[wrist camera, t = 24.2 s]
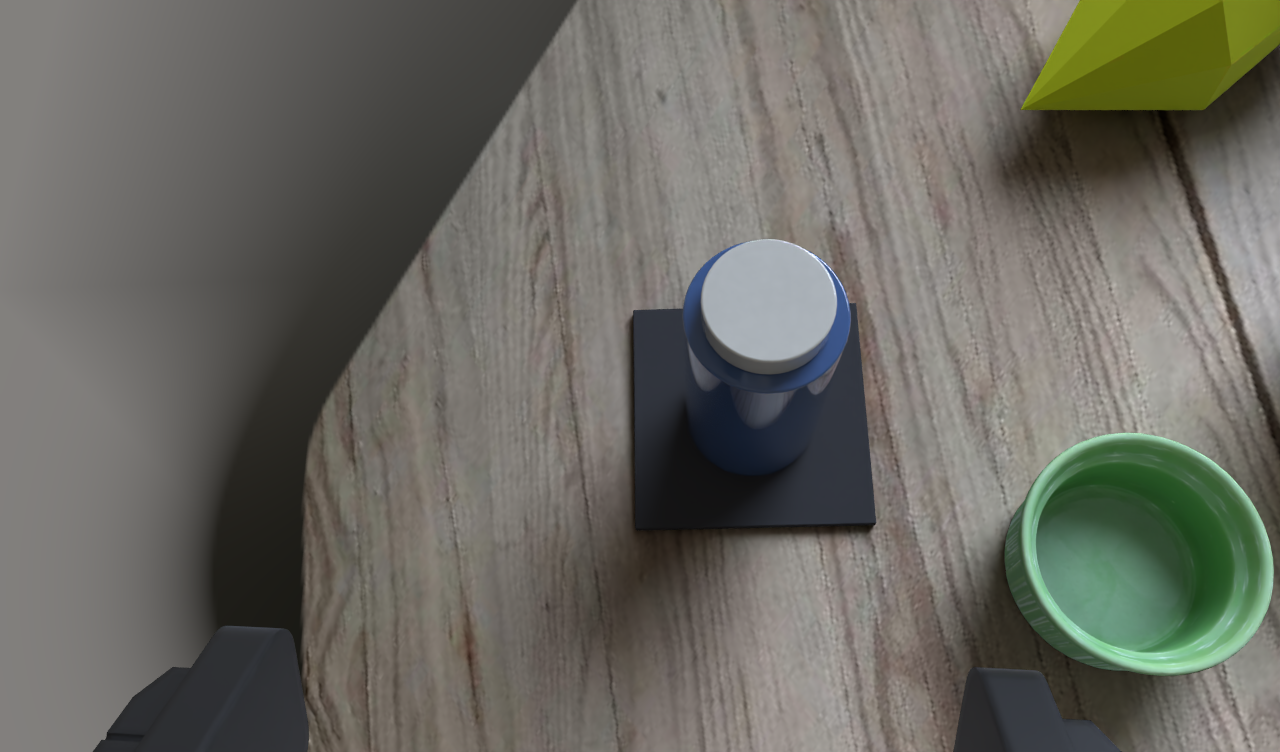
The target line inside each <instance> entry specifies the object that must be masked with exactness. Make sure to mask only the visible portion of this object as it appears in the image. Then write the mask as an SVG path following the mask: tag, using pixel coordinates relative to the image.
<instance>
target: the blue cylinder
mask: <svg viewBox="0 0 1280 752" xmlns="http://www.w3.org/2000/svg"><path fill="white" fill-rule="evenodd" d="M850 325H851V311H850V305H849V301H848V297H847V294H846V291H845V289H844V287H843V285H842V283H841V281H840V280H839V278H838V277H837V275H836V274H835V273H834V272H833V270H832V269H831V268H830V267H829V266H828V265H827V264H826V263H825V262H824V261H823V260H821V259H820V258H819V257H817V256H816V255H814V254H813V253H811V252H809V251H808V250H806V249H804V248H802V247H800V246H798V245H795V244H792V243H789V242H786V241H781V240H774V239H762V240H754V241H749V242H745V243H740V244H737V245H735V246H732V247H730V248H727V249H725V250H723V251H721V252H720V253H718V254H717V255H715V256H714V257H712V258H711V259H710V260H709V261H708V262H706V263H705V264H704V265H703V267H702V268H701V269H700V270H699V271H698V272H697V274H696V275H695V277H694V278H693V280H692V282H691V284H690V286H689V288H688V290H687V293H686V296H685V300H684V305H683V340H684V367H685V395H686V417H687V425H688V429H689V432H690V435H691V437H692V439H693V441H694V443H695V445H696V446H697V448H698V449H699V450H700V452H701V453H702V454H703V455H704V456H705V457H706V458H707V459H708V460H709V461H711V462H712V463H713V464H715V465H716V466H718V467H720V468H722V469H724V470H726V471H728V472H731V473H735V474H739V475H745V476H759V475H766V474H771V473H774V472H777V471H779V470H781V469H783V468H785V467H787V466H789V465H790V464H791V463H793V462H794V461H795V460H796V459H797V458H799V457H800V456H801V454H802V453H803V452H804V451H805V450H806V448H807V446H808V445H809V443H810V441H811V439H812V436H813V434H814V431H815V428H816V426H817V423H818V420H819V417H820V415H821V412H822V409H823V406H824V404H825V401H826V398H827V395H828V393H829V390H830V387H831V384H832V382H833V379H834V376H835V373H836V371H837V368H838V365H839V362H840V360H841V357H842V354H843V351H844V348H845V346H846V343H847V340H848V336H849V332H850Z"/></svg>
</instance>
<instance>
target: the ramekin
mask: <svg viewBox="0 0 1280 752" xmlns="http://www.w3.org/2000/svg"><path fill="white" fill-rule="evenodd" d="M1005 567H1006V577H1007V580H1008V584H1009V587H1010V591H1011V593H1012V596H1013V598H1014V600H1015V602H1016V604H1017V606H1018V607H1019V609H1020V611H1021V613H1022V615H1023V616H1024V617H1025V619H1026V620H1027V621H1028V623H1029V624H1030V625H1031V627H1032V628H1033V629H1034V630H1035V631H1036V632H1037V633H1038V634H1039V635H1040V636H1041V637H1042V638H1043V639H1044V640H1045V641H1046V642H1048V643H1049V644H1050V645H1051V646H1052V647H1054V648H1055V649H1057V650H1058V651H1060V652H1062V653H1063V654H1065V655H1066V656H1068V657H1070V658H1072V659H1074V660H1077V661H1079V662H1081V663H1083V664H1087V665H1090V666H1093V667H1096V668H1100V669H1107V670H1115V671H1131V672H1135V673H1141V674H1147V675H1156V676H1176V675H1185V674H1190V673H1195V672H1199V671H1203V670H1206V669H1209V668H1211V667H1213V666H1216V665H1218V664H1220V663H1222V662H1224V661H1226V660H1227V659H1229V658H1230V657H1232V656H1233V655H1234V654H1236V653H1237V652H1238V651H1239V650H1241V649H1242V648H1243V647H1244V646H1245V645H1246V644H1247V643H1248V642H1249V640H1250V639H1251V638H1252V637H1253V636H1254V634H1255V633H1256V631H1257V630H1258V628H1259V627H1260V625H1261V623H1262V621H1263V619H1264V617H1265V615H1266V613H1267V610H1268V607H1269V603H1270V600H1271V595H1272V589H1273V574H1274V570H1273V557H1272V552H1271V546H1270V542H1269V538H1268V535H1267V532H1266V530H1265V527H1264V525H1263V522H1262V520H1261V518H1260V516H1259V514H1258V512H1257V510H1256V509H1255V507H1254V505H1253V504H1252V502H1251V500H1250V499H1249V498H1248V496H1247V495H1246V494H1245V492H1244V491H1243V490H1242V489H1241V487H1240V486H1239V485H1238V484H1237V483H1236V481H1235V480H1234V479H1233V478H1232V477H1231V476H1230V475H1229V474H1228V473H1227V472H1226V471H1224V470H1223V469H1222V468H1221V467H1219V466H1218V465H1217V464H1216V463H1215V462H1213V461H1212V460H1210V459H1209V458H1207V457H1206V456H1204V455H1202V454H1201V453H1199V452H1197V451H1195V450H1193V449H1191V448H1189V447H1187V446H1185V445H1183V444H1180V443H1178V442H1175V441H1172V440H1169V439H1166V438H1162V437H1158V436H1153V435H1148V434H1140V433H1117V434H1107V435H1103V436H1098V437H1095V438H1091V439H1088V440H1086V441H1083V442H1081V443H1078V444H1076V445H1074V446H1072V447H1071V448H1069V449H1067V450H1066V451H1064V452H1063V453H1061V454H1060V455H1058V456H1057V457H1056V458H1055V459H1053V460H1052V461H1051V462H1050V463H1049V464H1048V465H1047V466H1046V467H1045V469H1044V470H1043V471H1042V472H1041V473H1040V475H1039V476H1038V477H1037V479H1036V480H1035V482H1034V483H1033V485H1032V486H1031V488H1030V490H1029V492H1028V494H1027V496H1026V499H1025V500H1024V502H1023V503H1022V505H1021V506H1020V507H1019V508H1018V510H1017V511H1016V513H1015V515H1014V517H1013V519H1012V521H1011V523H1010V527H1009V530H1008V533H1007V536H1006V544H1005Z"/></svg>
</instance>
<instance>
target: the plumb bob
mask: <svg viewBox="0 0 1280 752" xmlns="http://www.w3.org/2000/svg"><path fill="white" fill-rule="evenodd" d="M1279 44H1280V0H1080V1H1079V3H1078V5H1077V7H1076V9H1075V11H1074V12H1073V14H1072V16H1071V18H1070V20H1069V22H1068V23H1067V25H1066V27H1065V29H1064V31H1063V33H1062V34H1061V36H1060V38H1059V40H1058V42H1057V44H1056V45H1055V47H1054V49H1053V51H1052V53H1051V55H1050V56H1049V58H1048V60H1047V62H1046V64H1045V66H1044V68H1043V69H1042V71H1041V73H1040V75H1039V77H1038V79H1037V80H1036V82H1035V84H1034V86H1033V88H1032V90H1031V91H1030V93H1029V95H1028V97H1027V99H1026V101H1025V102H1024V104H1023V106H1022V108H1021V110H1204V109H1205V108H1206V107H1208V106H1209V105H1210V104H1211V103H1212V102H1213V101H1215V100H1216V99H1217V98H1218V97H1219V96H1220V95H1222V94H1223V93H1224V92H1225V91H1226V90H1227V89H1228V88H1230V87H1231V86H1232V85H1233V84H1234V83H1235V82H1237V81H1238V80H1239V79H1240V78H1241V77H1242V76H1244V75H1245V74H1246V73H1247V72H1248V71H1249V70H1250V69H1252V68H1253V67H1254V66H1255V65H1256V64H1257V63H1259V62H1260V61H1261V60H1262V59H1263V58H1264V57H1266V56H1267V55H1268V54H1269V53H1270V52H1271V51H1272V50H1274V49H1275V48H1276V47H1277V46H1278V45H1279Z"/></svg>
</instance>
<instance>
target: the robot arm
mask: <svg viewBox="0 0 1280 752" xmlns="http://www.w3.org/2000/svg"><path fill="white" fill-rule="evenodd" d="M308 741H309V727H308V719H307V714H306V708H305V702H304V696H303V690H302V685H301V679H300V673H299V668H298V661H297V656H296V650H295V644H294V640H293V637H292V635H291V633H290V632H289V631H288V630H287V629H279V628H261V627H242V626H224V627H221V628H220V629H219V630H218V631H217V632H216V633H215V634H214V635H213V637H212V638H211V640H210V641H209V643H208V644H207V646H206V647H205V648H204V650H203V651H202V653H201V654H200V656H199V657H198V659H197V660H196V661H195V663H194V664H193V666H192V667H191V668H178V667H172V668H171V669H170V670H168V671H167V672H166V673H164V674H163V675H162V676H160V677H159V678H158V679H156V680H155V681H154V682H152V683H151V684H150V685H148V686H147V687H146V688H144V689H143V690H142V691H141V692H139V693H138V694H136V695H135V696H134V697H133V698H132V699H131V701H130V702H129V703H128V705H127V706H126V707H125V709H124V710H123V711H122V713H121V714H120V715H119V717H118V718H117V720H116V721H115V722H114V724H113V725H112V726H111V728H110V729H109V730H108V732H107V737H106V739H105V740H101V741H100V743H99V744H98V745H97V747H96V748H95V750H94V751H93V752H307V750H308ZM953 752H1121V751H1120V750H1119V749H1118V748H1117V747H1116V746H1115V745H1114V744H1113V743H1112V742H1111V741H1110V739H1109V738H1108V737H1107V736H1106V735H1105V734H1104V733H1103V732H1102V731H1101V730H1100V729H1099V728H1098V727H1097V726H1096V725H1095V724H1094V723H1093V722H1092V721H1091V720H1075V719H1062V717H1061V715H1060V712H1059V710H1058V708H1057V705H1056V703H1055V700H1054V698H1053V696H1052V693H1051V691H1050V688H1049V686H1048V684H1047V681H1046V679H1045V677H1044V676H1043V674H1042V673H1041V672H1040V671H1036V670H1017V669H998V668H979V667H973V668H971V669H970V671H969V673H968V676H967V680H966V685H965V690H964V696H963V701H962V707H961V712H960V718H959V723H958V729H957V734H956V740H955V745H954V751H953Z"/></svg>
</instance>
